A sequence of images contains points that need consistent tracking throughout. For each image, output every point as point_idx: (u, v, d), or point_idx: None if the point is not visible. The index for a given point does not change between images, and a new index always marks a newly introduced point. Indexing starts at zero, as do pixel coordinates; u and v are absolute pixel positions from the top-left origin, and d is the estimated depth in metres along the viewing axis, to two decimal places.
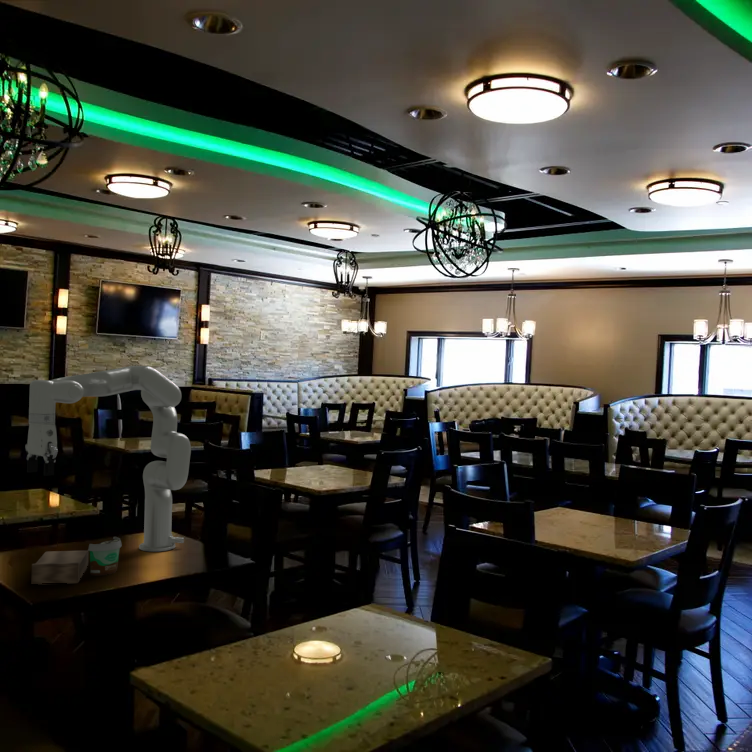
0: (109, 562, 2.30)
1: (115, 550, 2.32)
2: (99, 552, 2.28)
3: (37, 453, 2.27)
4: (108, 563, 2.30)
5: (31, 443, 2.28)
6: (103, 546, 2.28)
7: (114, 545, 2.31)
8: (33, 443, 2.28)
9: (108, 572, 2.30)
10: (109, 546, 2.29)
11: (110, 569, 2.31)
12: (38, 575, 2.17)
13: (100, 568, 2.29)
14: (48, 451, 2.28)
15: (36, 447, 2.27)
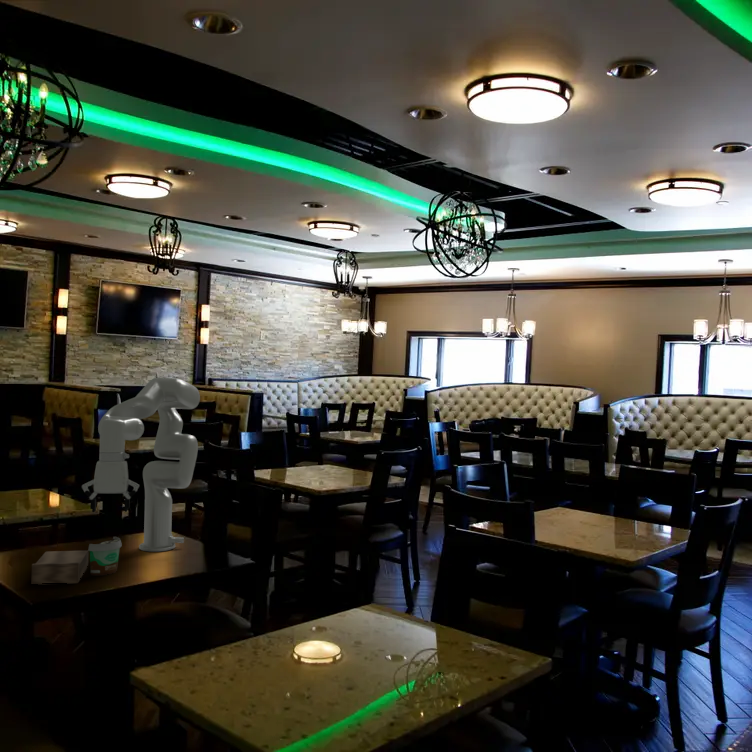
0: (109, 562, 2.30)
1: (115, 550, 2.32)
2: (99, 552, 2.28)
3: (115, 491, 2.31)
4: (108, 563, 2.30)
5: (105, 482, 2.30)
6: (103, 546, 2.28)
7: (114, 545, 2.31)
8: (109, 481, 2.30)
9: (108, 572, 2.30)
10: (109, 546, 2.29)
11: (110, 569, 2.31)
12: (38, 575, 2.17)
13: (100, 568, 2.29)
14: None
15: (114, 485, 2.30)
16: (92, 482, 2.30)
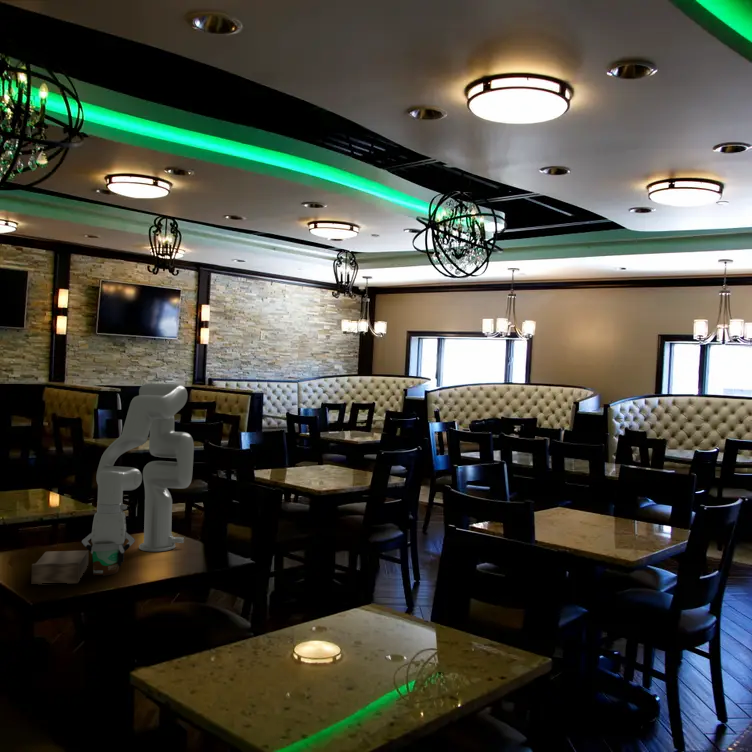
0: (111, 562, 2.30)
1: (117, 550, 2.32)
2: (102, 552, 2.28)
3: None
4: (111, 563, 2.30)
5: (102, 534, 2.29)
6: (106, 546, 2.28)
7: (117, 545, 2.31)
8: (107, 533, 2.30)
9: (111, 572, 2.30)
10: (112, 546, 2.29)
11: (113, 569, 2.31)
12: (38, 575, 2.17)
13: (103, 568, 2.29)
14: None
15: (112, 537, 2.30)
16: (91, 535, 2.30)
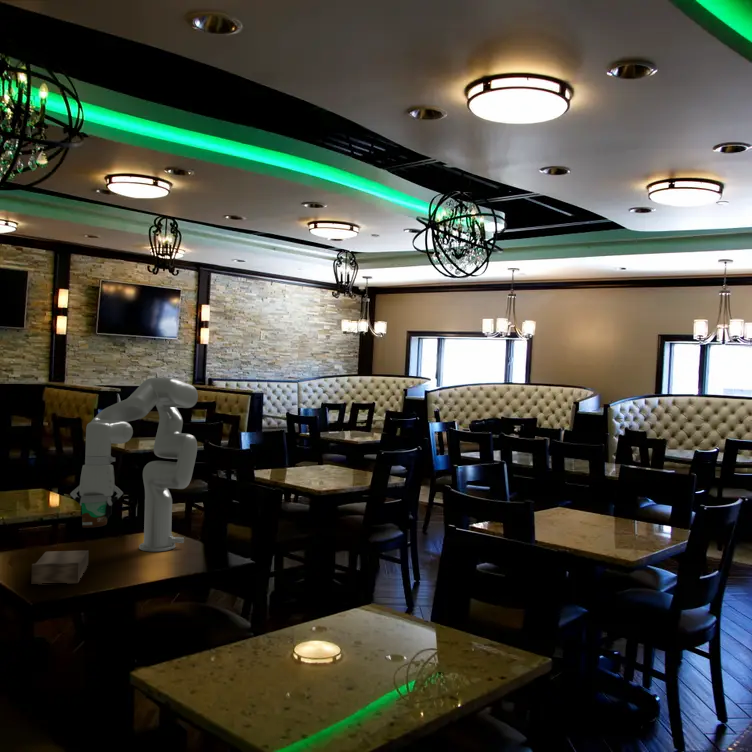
0: (100, 514, 2.29)
1: (106, 502, 2.31)
2: (91, 504, 2.27)
3: (101, 494, 2.29)
4: (100, 515, 2.29)
5: (91, 486, 2.28)
6: (96, 497, 2.27)
7: (106, 497, 2.30)
8: (95, 485, 2.29)
9: (100, 524, 2.29)
10: (101, 497, 2.29)
11: (102, 521, 2.30)
12: (38, 575, 2.17)
13: (92, 520, 2.28)
14: None
15: (100, 489, 2.29)
16: (79, 487, 2.29)
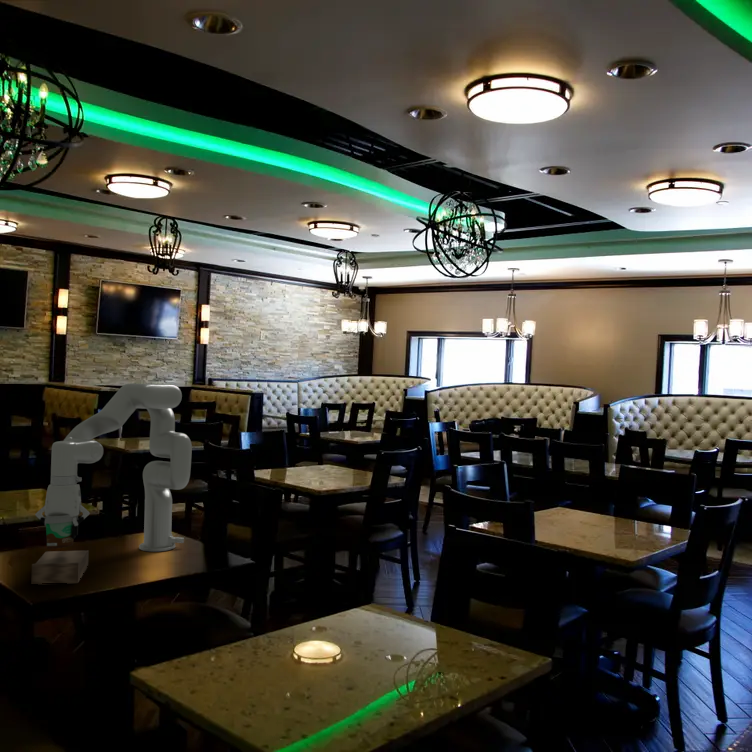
0: (66, 534, 2.26)
1: (72, 522, 2.28)
2: (56, 524, 2.24)
3: None
4: (65, 535, 2.26)
5: (56, 506, 2.25)
6: (60, 518, 2.24)
7: (71, 517, 2.27)
8: (60, 506, 2.26)
9: (65, 545, 2.26)
10: (66, 518, 2.26)
11: (67, 541, 2.27)
12: (38, 575, 2.17)
13: (57, 541, 2.25)
14: None
15: (66, 509, 2.26)
16: (44, 508, 2.26)
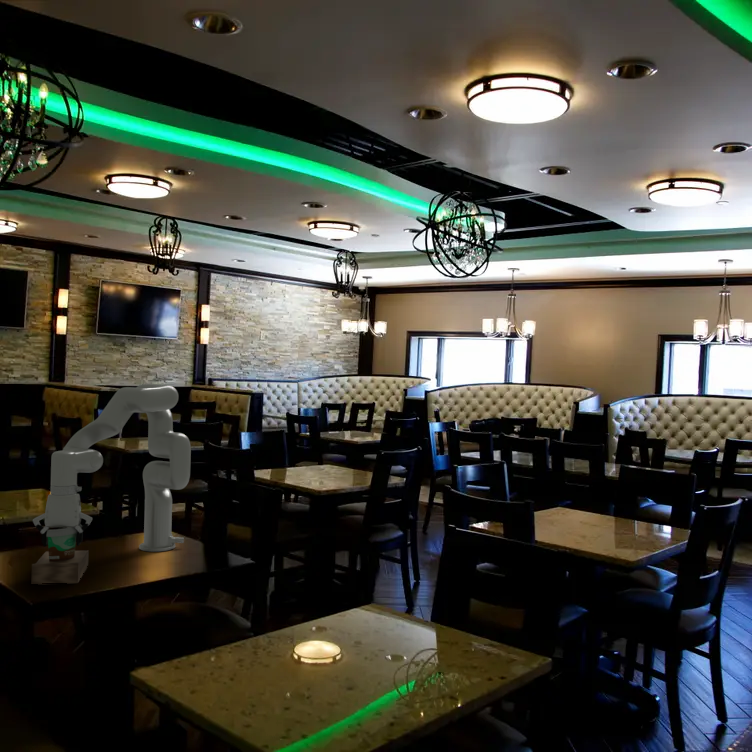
0: (68, 547, 2.27)
1: (73, 535, 2.29)
2: (58, 537, 2.24)
3: (67, 525, 2.27)
4: (67, 548, 2.27)
5: (56, 516, 2.26)
6: (62, 531, 2.25)
7: (73, 529, 2.28)
8: (60, 515, 2.26)
9: (67, 557, 2.27)
10: (68, 531, 2.26)
11: (69, 554, 2.27)
12: (38, 575, 2.17)
13: (59, 554, 2.25)
14: None
15: (66, 519, 2.26)
16: (43, 516, 2.26)
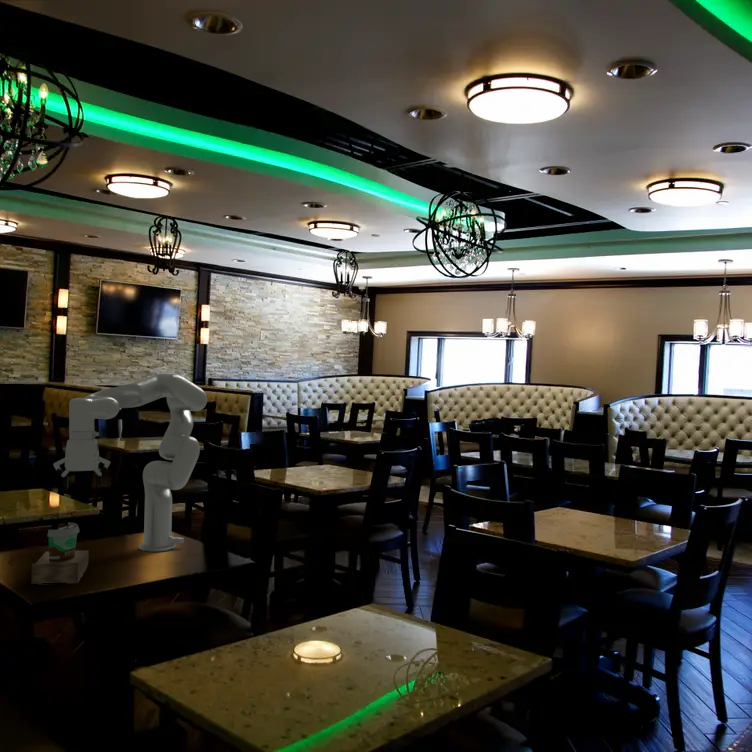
0: (68, 548, 2.27)
1: (74, 535, 2.29)
2: (59, 538, 2.24)
3: (86, 468, 2.37)
4: (68, 548, 2.27)
5: (76, 460, 2.36)
6: (63, 531, 2.25)
7: (74, 530, 2.28)
8: (80, 459, 2.36)
9: (67, 558, 2.27)
10: (69, 531, 2.26)
11: (69, 554, 2.27)
12: (38, 575, 2.17)
13: (60, 554, 2.25)
14: None
15: (85, 462, 2.36)
16: (63, 460, 2.36)
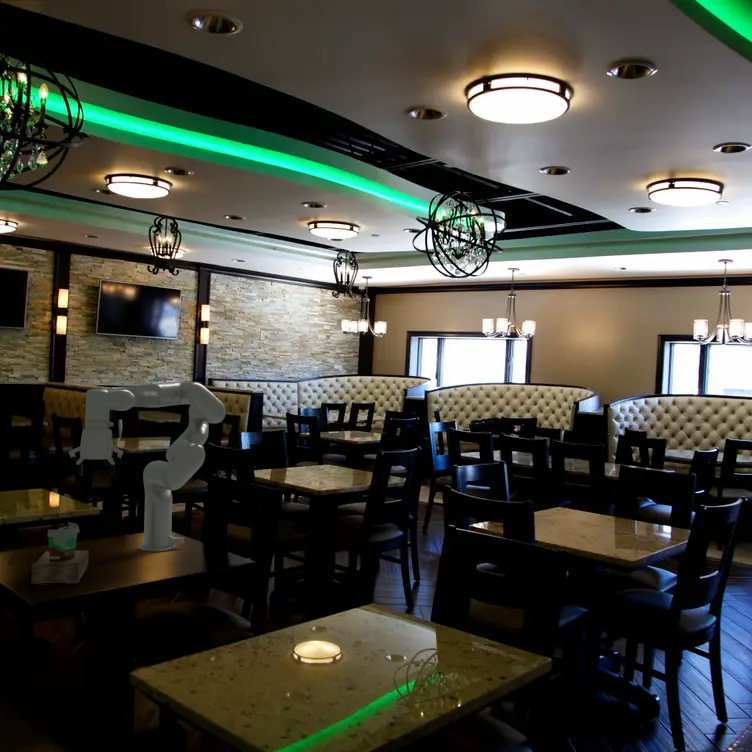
0: (68, 548, 2.27)
1: (74, 535, 2.29)
2: (59, 538, 2.24)
3: (100, 457, 2.46)
4: (68, 548, 2.27)
5: (90, 448, 2.45)
6: (63, 531, 2.25)
7: (74, 530, 2.28)
8: (94, 448, 2.45)
9: (68, 558, 2.27)
10: (69, 531, 2.26)
11: (69, 554, 2.27)
12: (38, 575, 2.17)
13: (60, 554, 2.25)
14: None
15: (99, 451, 2.45)
16: (78, 448, 2.45)
